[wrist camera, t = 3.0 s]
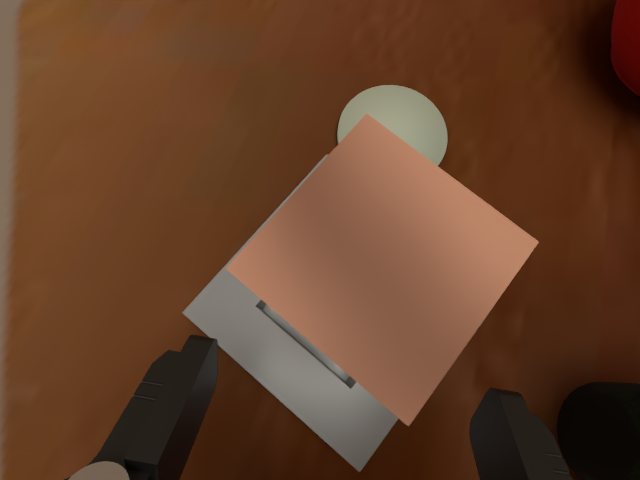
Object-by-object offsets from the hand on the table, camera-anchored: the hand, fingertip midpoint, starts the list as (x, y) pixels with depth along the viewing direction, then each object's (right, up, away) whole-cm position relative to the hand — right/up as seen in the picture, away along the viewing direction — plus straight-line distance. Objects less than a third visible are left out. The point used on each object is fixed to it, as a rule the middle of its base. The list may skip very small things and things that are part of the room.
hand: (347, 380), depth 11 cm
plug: (0, +1, +10) cm, 10 cm away
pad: (+4, +11, +13) cm, 18 cm away
